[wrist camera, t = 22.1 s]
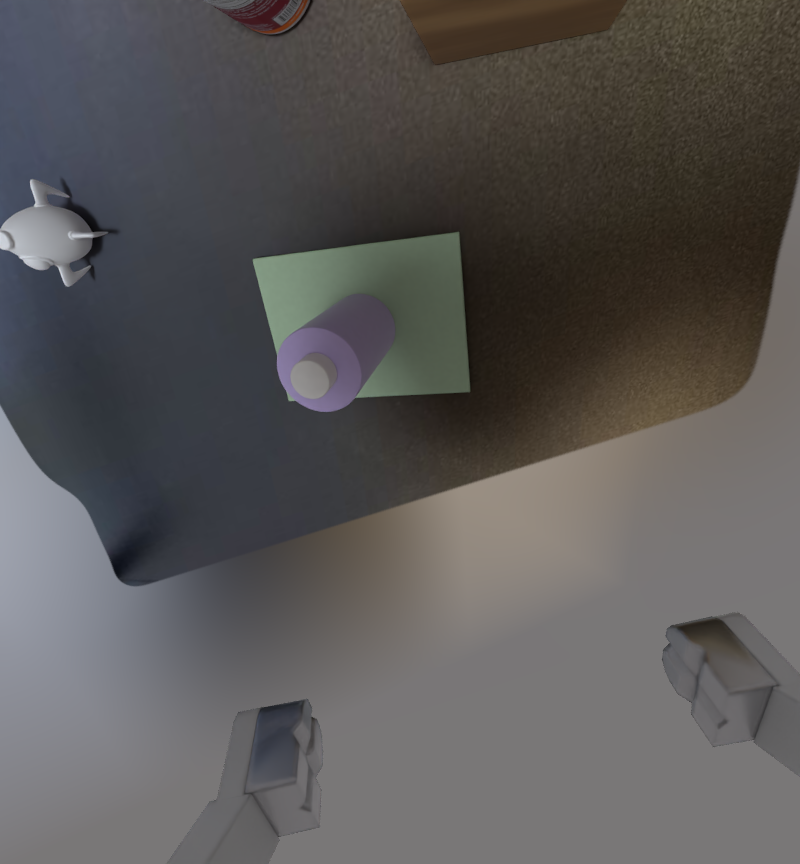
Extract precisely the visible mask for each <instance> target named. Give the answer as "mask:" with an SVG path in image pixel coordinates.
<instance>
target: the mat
mask: <svg viewBox="0 0 800 864" xmlns="http://www.w3.org/2000/svg"><path fill="white" fill-rule="evenodd" d="M253 263H254V267H255V271H256V275H257V279H258V283H259V287H260V291H261V294H262V298H263V302H264V306H265V310H266V314H267V318H268V322H269V325H270V329H271V333H272V337H273V341H274V345H275V349H276V353H277V356H278V352H279V349H280V347H281V345H282V343H283V341H284V340H285V339H286V338H287V337H288V336H289V335H290V334H292V333H293V332H294V331H296V330H297V329H299V328H300V327H302V326H303V325H305V324H306V323H308V322H309V321H311V320H312V319H314V318H315V317H317V316H318V315H319V314H321V313H322V312H324V311H325V310H327V309H328V308H330V307H331V306H333V305H334V304H336V303H337V302H339V301H340V300H342V299H343V298H345V297H347V296H349V295H353V294H366V295H370V296H372V297H375V298H377V299H378V300H380V301H381V302H382V303H383V304H384V305H385V306H386V307H387V308H388V309H389V311H390V313H391V314H392V317H393V319H394V323H395V338H394V342H393V344H392V346H391V348H390V349H389V351H388V352H387V353H386V355H385V356H384V358H383V359H382V361H381V362H380V363H379V365H378V366H377V368H376V369H375V370H374V372H373V373H372V375H371V376H370V377H369V379H368V380H367V382H366V383H365V384H364V386H363V387H362V389H361V390H360V391H359V393H358V394H357V396H356V397H355V398H359V397H379V396H400V395H420V394H441V393H461V392H470V377H469V362H468V348H467V333H466V319H465V305H464V290H463V276H462V261H461V247H460V233H459V232H453V233H445V234H437V235H429V236H422V237H414V238H406V239H399V240H391V241H383V242H376V243H368V244H360V245H352V246H345V247H337V248H329V249H322V250H314V251H306V252H299V253H291V254H283V255H276V256H268V257H260V258H254V259H253ZM287 395H288V399H289V401H296V400H294V399H293V398H292V397H291V396H290V395H289V393H288V392H287Z"/></svg>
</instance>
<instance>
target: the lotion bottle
mask: <svg viewBox="0 0 800 864" xmlns="http://www.w3.org/2000/svg"><path fill="white" fill-rule="evenodd" d="M394 338H395V323H394V319H393V317H392V314H391V313H390V311H389V309H388V308H387V307H386V306H385V305H384V304H383V303H382V302H381V301H380V300H378V299H377V298H375V297H372V296H370V295H366V294H353V295H349V296H347V297H345V298H343V299H342V300H340V301H339V302H337V303H336V304H334V305H333V306H331V307H330V308H328V309H327V310H325V311H324V312H322V313H321V314H319V315H318V316H317V317H315V318H314V319H312V320H311V321H309V322H308V323H306V324H305V325H303V326H302V327H300V328H299V329H297V330H296V331H294V332H293V333H292V334H290V335H289V336H288V337H287V338H286V339H285V340H284V341H283V343H282V345H281V347H280V349H279V352H278V356H277V370H278V375H279V378H280V380H281V383H282V385H283V386H284V388H285V390H286V391H287V392H288V393H289V395H290V396H291V397H292V398H293V399H294V400H296V401H297V402H298V403H300V404H301V405H303V406H305V407H307V408H309V409H312V410H316V411H322V412H330V411H336V410H339V409H341V408H344V407H345V406H347V405H348V404H350V403H351V402H352V401H353V400H354V398H355V397H356V396H357V394H358V393H359V391H360V390H361V389H362V387H363V386H364V384H365V383H366V382H367V380H368V379H369V377H370V376H371V375H372V373H373V372H374V370H375V369H376V368H377V366H378V365H379V363H380V362H381V361H382V359H383V358H384V356H385V355H386V353H387V352H388V351H389V349H390V348H391V346H392V344H393V342H394Z"/></svg>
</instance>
